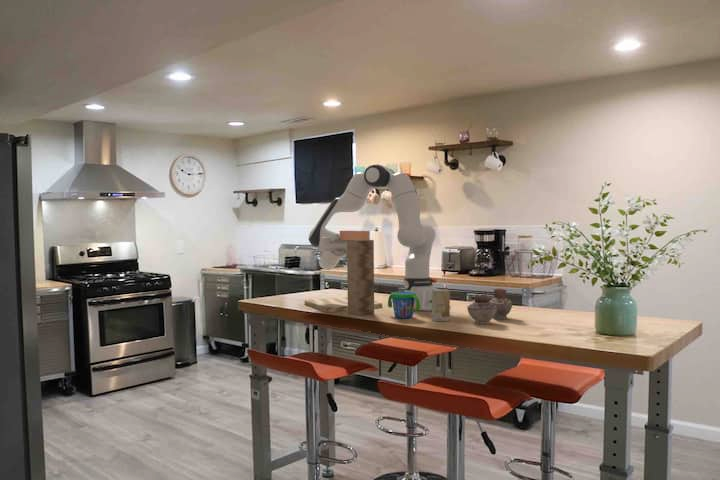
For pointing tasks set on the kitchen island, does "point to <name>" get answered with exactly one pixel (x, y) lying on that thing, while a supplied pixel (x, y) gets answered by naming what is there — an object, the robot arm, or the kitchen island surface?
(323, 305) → the oak base board
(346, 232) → the terracotta rail
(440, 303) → the skincare box
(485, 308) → the pottery
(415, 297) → the snack cup
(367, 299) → the walnut stand
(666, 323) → the kitchen island surface
